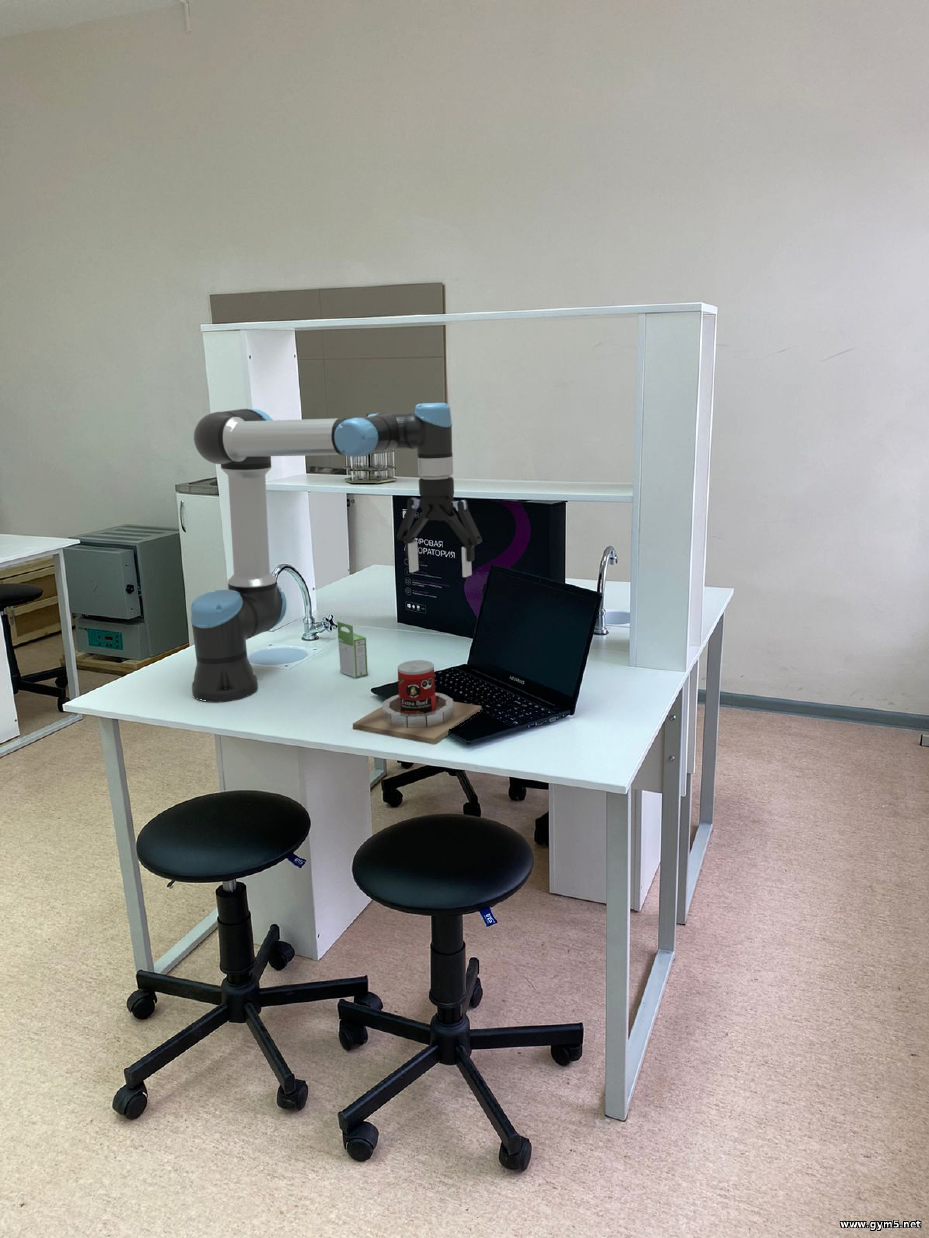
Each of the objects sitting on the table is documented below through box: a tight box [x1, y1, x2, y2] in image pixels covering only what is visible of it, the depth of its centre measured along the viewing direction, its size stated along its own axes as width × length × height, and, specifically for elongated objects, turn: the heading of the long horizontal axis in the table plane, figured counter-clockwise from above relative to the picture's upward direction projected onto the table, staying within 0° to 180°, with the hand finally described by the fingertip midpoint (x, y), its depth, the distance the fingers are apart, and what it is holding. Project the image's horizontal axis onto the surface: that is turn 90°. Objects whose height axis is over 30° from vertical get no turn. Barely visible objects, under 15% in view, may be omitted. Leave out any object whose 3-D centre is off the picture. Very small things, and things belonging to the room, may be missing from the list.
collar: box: [381, 692, 454, 728], centre depth 202 cm, size 15×15×2 cm
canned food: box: [397, 659, 436, 714], centre depth 201 cm, size 8×8×11 cm
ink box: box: [336, 621, 369, 679], centre depth 232 cm, size 7×4×13 cm, turn 40°
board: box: [352, 701, 483, 745], centre depth 202 cm, size 20×20×1 cm
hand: (440, 573), depth 209 cm, fingers open, 13 cm apart
